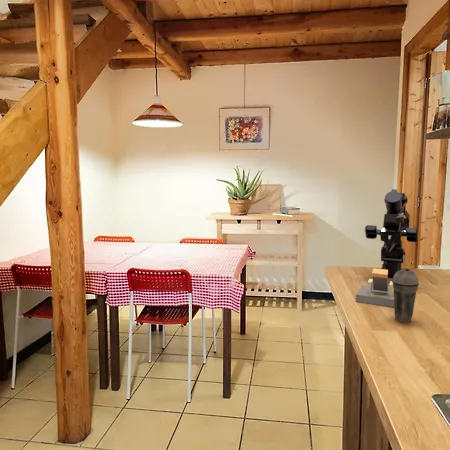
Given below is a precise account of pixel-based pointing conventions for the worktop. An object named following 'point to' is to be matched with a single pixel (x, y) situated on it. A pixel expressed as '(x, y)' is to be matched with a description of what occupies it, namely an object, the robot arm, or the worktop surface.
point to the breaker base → (376, 295)
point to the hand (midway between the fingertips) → (388, 251)
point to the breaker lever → (380, 279)
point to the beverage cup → (404, 293)
